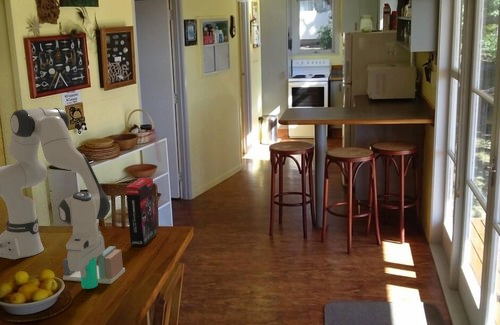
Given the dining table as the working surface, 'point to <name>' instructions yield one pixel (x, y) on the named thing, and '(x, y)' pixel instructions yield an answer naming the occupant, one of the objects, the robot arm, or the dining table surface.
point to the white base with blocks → (105, 267)
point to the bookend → (66, 267)
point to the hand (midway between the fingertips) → (88, 273)
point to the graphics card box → (141, 211)
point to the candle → (90, 275)
